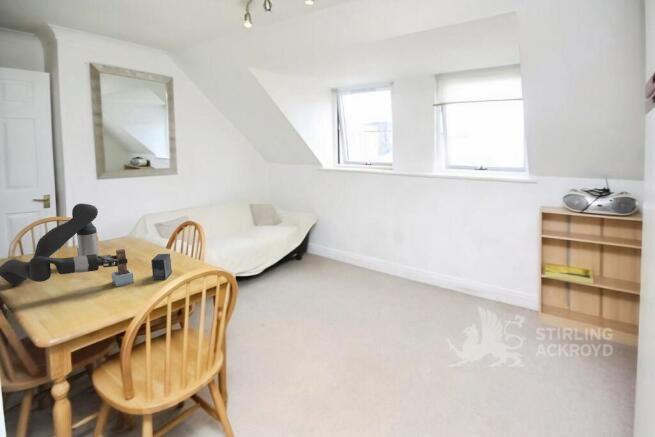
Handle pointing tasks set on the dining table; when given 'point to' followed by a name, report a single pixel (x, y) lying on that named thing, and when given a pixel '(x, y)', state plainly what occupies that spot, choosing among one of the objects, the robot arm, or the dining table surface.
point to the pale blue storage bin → (122, 278)
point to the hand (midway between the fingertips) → (124, 258)
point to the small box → (161, 266)
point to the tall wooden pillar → (121, 267)
